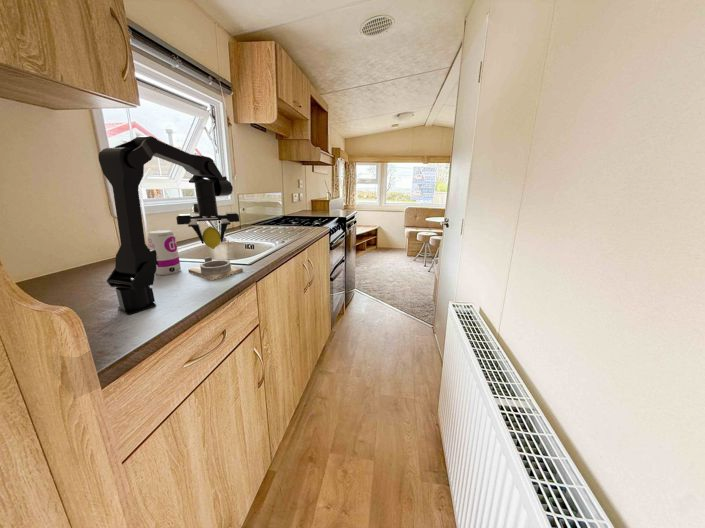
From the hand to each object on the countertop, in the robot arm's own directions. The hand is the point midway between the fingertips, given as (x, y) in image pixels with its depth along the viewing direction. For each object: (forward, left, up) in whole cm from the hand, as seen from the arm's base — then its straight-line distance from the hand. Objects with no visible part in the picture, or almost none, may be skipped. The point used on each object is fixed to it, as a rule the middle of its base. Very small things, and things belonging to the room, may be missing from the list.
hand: (212, 242), depth 97 cm
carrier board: (+1, +2, -11) cm, 12 cm away
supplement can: (-9, +16, -12) cm, 22 cm away
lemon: (0, 0, -2) cm, 2 cm away
